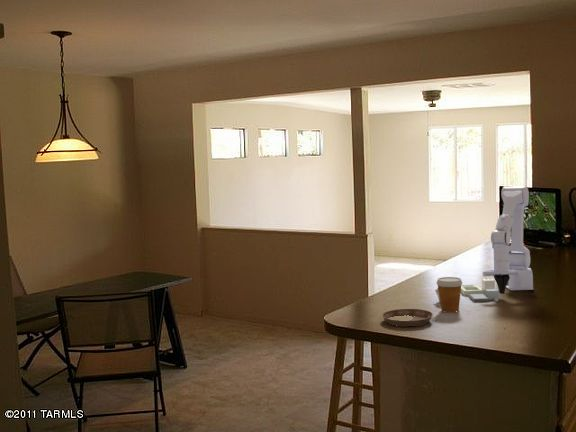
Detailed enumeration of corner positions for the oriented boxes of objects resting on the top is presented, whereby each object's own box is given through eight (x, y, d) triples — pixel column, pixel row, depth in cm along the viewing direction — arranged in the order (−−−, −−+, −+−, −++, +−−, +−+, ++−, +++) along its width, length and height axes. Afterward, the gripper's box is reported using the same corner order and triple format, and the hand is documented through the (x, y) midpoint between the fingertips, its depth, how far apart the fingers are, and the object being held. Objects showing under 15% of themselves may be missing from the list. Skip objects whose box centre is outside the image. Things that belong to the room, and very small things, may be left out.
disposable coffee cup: (445, 314, 221) (444, 282, 220) (432, 309, 230) (431, 278, 229) (468, 311, 224) (467, 280, 223) (454, 306, 233) (453, 275, 232)
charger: (492, 292, 253) (491, 277, 253) (494, 294, 249) (494, 279, 249) (482, 293, 254) (482, 277, 253) (485, 295, 250) (484, 279, 249)
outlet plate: (476, 289, 262) (476, 284, 261) (483, 295, 250) (483, 290, 250) (457, 289, 262) (457, 285, 262) (464, 295, 250) (464, 290, 250)
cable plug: (496, 297, 244) (496, 289, 244) (503, 301, 236) (502, 293, 236) (485, 297, 245) (485, 289, 244) (491, 302, 236) (491, 293, 236)
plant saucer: (372, 324, 214) (371, 315, 214) (401, 313, 226) (401, 306, 226) (414, 332, 201) (414, 323, 201) (442, 320, 214) (442, 312, 213)
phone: (483, 296, 247) (483, 293, 247) (489, 301, 238) (489, 298, 238) (468, 297, 247) (468, 294, 247) (474, 302, 238) (474, 299, 238)
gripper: (485, 262, 238) (486, 296, 239) (523, 260, 237) (523, 294, 238) (480, 259, 245) (481, 292, 246) (517, 257, 244) (517, 290, 245)
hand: (501, 293), depth 242 cm, fingers closed
